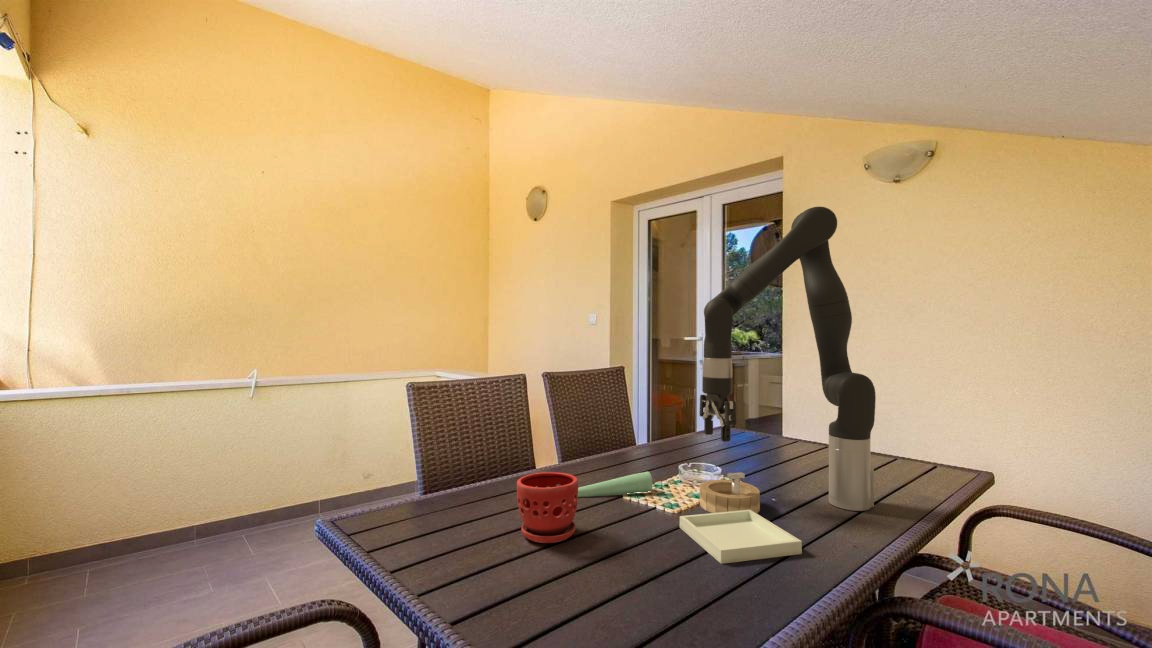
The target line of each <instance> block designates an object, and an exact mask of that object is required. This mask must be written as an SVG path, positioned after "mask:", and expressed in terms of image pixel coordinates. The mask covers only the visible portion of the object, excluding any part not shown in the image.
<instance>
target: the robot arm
mask: <svg viewBox="0 0 1152 648" xmlns="http://www.w3.org/2000/svg"><path fill="white" fill-rule="evenodd" d="M837 227H838V218H837V216H836V214H835V212H834V211H833V210H831V209H830V208H828V207H826V206H813V207H810V208H807V209H805V210H804V211H803V212H800V213H799V214H798V215H797V216H796V217H795V218H794V219H793V221H792V223H791V227H790V228H791V229H790V230H789V231H788V233H786V235H785V236H784V237H782V239H781V240H780V241H778V242H777V243H776V244H775V245H774V246H773V247H772V248H770V250H767V252H766V253H764V254H763V255H761V256H760V257H758V259H756V260H755V261H754V262H752V263H751V264H750V265H749V266H747V267H746V268H745V269H744V270H743V271H742V272H740V274H738V275H737V276H736V277H735V278H734V279H733V280H732V281H731V282H730V284H728V286H726V287H725V288H724V289H723V290H722V291H720V293H718V294H717V295H715V297H713V298H712V299H710V300H709V301H708V302H707V303H706V305H705V306H704V309H703V316H704V336H705V337H704V340H703V341H704V342H703V359H702V360H703V361H702V379H701V380H702V382H701V383H702V385H701V386H702V387H701V388H702V390H701V391H702V393H703V394H700V396H699V416H700V417H702V419H703V421H704V422H703V423H704V425H703V427H704V428H703V429H704V431H703V433H704V435H706V436H707V435H708V436H711V435H713V434H714V417H715V416H716V419H718V420H719V422H720V441H722V442H723V443H727V442H730V441H731V427H732V426H736V425H737V404H736V403H737V402H736V401H735V400H729V397H728V396H729V395H731V394H733V362H732V350H733V346H732V345H733V344H732V334H733V333H732V332H733V323H734V321H733V320H734V318H733V316H735V315H736V314H737V313H738V312H739V311H740V310H741V309H742V308H744V306H745V305H747V304H749V303H750V302H751V301H753V300H754V299H755V298H756V297H758V296H759V295H760V294H761V293H762V292H763V291H764V290H765V289H767V287H768V286H770V285H771V284H772V283H773V282H774V281H775V280H776V279H777V278H778V277H780V276H781V274H783V273H784V272H785V271H786V270H787V269H788V268H789V267H790V266H791V265H793V264H794V263H795V262H796V261H797V260H799V261H800V262H799V263H800V265H801V266H800V267H801V269H802V275H803V283H804V288H805V294H806V300H807V306H808V310H809V311H808V312H809V315H810V316H809V317H810V320H811V324H812V328H813V332H814V337H815V342H816V347H817V348H816V349H817V352H818V357H819V366H820V376H821V387H822V392H823V395H824V397H825V398H826V400H827V402H829V403H830V404H831V405H833V406H836V407H837V418H836V419H835V420H834V421H831V422H830V423H829V424H828V503H829V504H830V505H832V506H834V507H836V508H839V509H843V510H846V511H856V512H857V511H858V512H864V511H865V512H866V511H868V510H870V509H872V508H875V506H874V505H875V470H874V468H873V467H871V462H872V461H871V459H872V458H871V451H872V450H871V433H872V430H873V428H874V426H875V425H874V424H875V419H876V418H875V415H876V400H877V399H876V396H877V395H876V389H875V388H876V387H875V386H874V382H872V380H871V378H869V377H868V376H867V375H864V374H862V373H858V372H852V369H851V368H852V367H851V365H850V360H849V356H848V355H849V354H848V343H849V338H850V333H851V329H852V323H853V316H852V315H853V314H852V310H851V305H850V301H849V295H848V293H847V290H846V288H845V286H844V283H843V282H842V279H841V278H840V276H839V274H838V272H837V270H836V268H835V266H834V263H833V261H832V257H831V251H830V244H829V240H830V239H831V238H832V237H833V236H834V234H835V233H836V232H837Z"/></svg>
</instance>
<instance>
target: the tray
mask: <svg viewBox="0 0 1152 648" xmlns="http://www.w3.org/2000/svg"><path fill="white" fill-rule="evenodd" d="M679 529H681V530H682V531H683V532H684V533H685V534H687V536H688V537H690V538H691V539H692V540H693V541H694V542H696V544H698V545H699V546H700V547H701V548H702V549H704V550H705V551H706V552H707V553H708V555H710V556H712V557H713V558H714V559H715V560H716V561H717V562H719V564H729V563H731V564H732V563H739V562H745V561H754V560H764V559H771V558H780V557H787V556H789V557H790V556H795V555H802V554H803V551H802V550H803V549H802V548H803V545H802V544H803V543H802V542H803V541H802V540H801V539H799V538H797V537H796V536H794V535H793V534H791V533H789V532H788V531H786V530H784V529H783V528H781V527H780V526H778V525H776V524H774V523H772V522H771V521H770V520H768V519H767V518H764V517H763V516H761V515H760V514H759V513H758V514H756V513H755V512H753V511H751V510H740V511H730V512H719V513H711V512H708V513H700V514H692V515H690V514H689V515H681V516H679Z"/></svg>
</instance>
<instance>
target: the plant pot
mask: <svg viewBox="0 0 1152 648" xmlns="http://www.w3.org/2000/svg"><path fill="white" fill-rule="evenodd" d="M557 485H558V486H557ZM578 488H579V480H578V478H577V477H576V476H575V475H572V474H570V473H564V472H551V471H550V472H548V471H547V472H537V473H532V474H528V475H524V476H521V477H520V478H519V479H517V481H516V499H517V500H516V501H517V506H518V512H519V514H520V518H521V520H522V525H521V530H520V531H521V534H522V535H523V536H524V537H525V538H526V539H527V540H529V541H532V542H535V543H540V544H553V543H559V542H562V541H567V539H569V538H570V537H572V535H573V534H574V533H575V531H576V530H577V524H576V523H575V522H574V519H575V517H576V513H577V508H578V497H577V496H578Z"/></svg>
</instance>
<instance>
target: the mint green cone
mask: <svg viewBox="0 0 1152 648" xmlns="http://www.w3.org/2000/svg"><path fill="white" fill-rule="evenodd" d="M651 474H652V473H650V471H644V472H639V473H633V474H628V475H625V476H620V477H617V478H613V479H608V480H604V481H601V482H596V483H592V484H589V485H584V486H578V496H577V498H589V497H590V498H591V497H606V496H609V497H610V496H623V494H625V495H628V494H627V493H634V492H648V491H651V492H652V490H653V479H652V478H653V477H652V475H651Z"/></svg>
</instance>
